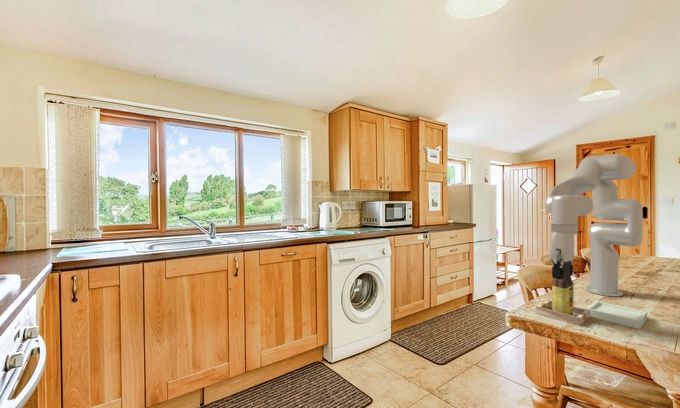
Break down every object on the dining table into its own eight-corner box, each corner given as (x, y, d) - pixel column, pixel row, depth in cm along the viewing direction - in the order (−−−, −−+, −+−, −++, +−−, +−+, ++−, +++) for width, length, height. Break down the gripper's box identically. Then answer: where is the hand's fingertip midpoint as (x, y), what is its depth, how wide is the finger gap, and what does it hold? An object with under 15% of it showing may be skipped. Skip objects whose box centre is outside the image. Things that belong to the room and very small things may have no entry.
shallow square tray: (596, 306, 116) (596, 300, 115) (647, 318, 104) (647, 311, 104) (585, 315, 107) (585, 308, 107) (639, 329, 96) (639, 321, 96)
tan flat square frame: (547, 306, 116) (547, 300, 116) (589, 317, 105) (589, 310, 105) (535, 313, 109) (535, 306, 108) (579, 325, 98) (579, 318, 98)
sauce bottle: (574, 320, 102) (575, 263, 102) (552, 316, 106) (553, 261, 105) (571, 314, 108) (572, 260, 108) (550, 310, 111) (551, 258, 111)
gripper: (559, 227, 114) (558, 271, 115) (542, 229, 104) (541, 277, 104) (584, 229, 108) (582, 275, 109) (568, 231, 98) (566, 282, 98)
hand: (562, 276), depth 106 cm, fingers open, 9 cm apart
